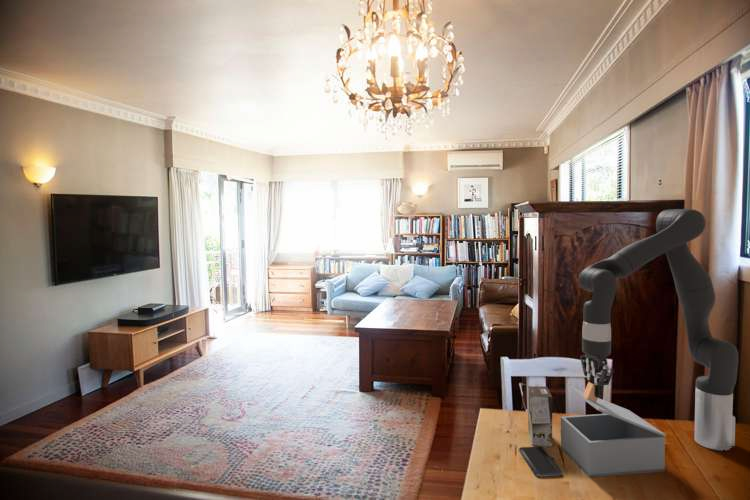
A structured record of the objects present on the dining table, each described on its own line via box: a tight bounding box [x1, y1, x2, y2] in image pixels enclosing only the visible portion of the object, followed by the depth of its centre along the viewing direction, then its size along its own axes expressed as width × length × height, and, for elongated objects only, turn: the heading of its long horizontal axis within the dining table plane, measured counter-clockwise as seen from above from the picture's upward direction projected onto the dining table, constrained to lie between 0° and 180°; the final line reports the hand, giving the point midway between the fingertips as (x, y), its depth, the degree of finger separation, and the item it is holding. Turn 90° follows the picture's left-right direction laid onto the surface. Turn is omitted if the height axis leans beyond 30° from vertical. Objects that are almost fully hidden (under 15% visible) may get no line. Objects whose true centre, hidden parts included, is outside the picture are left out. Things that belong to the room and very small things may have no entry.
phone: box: [518, 446, 563, 479], centre depth 132 cm, size 8×1×15 cm
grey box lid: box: [567, 381, 667, 438], centre depth 131 cm, size 22×16×5 cm
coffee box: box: [527, 385, 553, 447], centre depth 144 cm, size 9×6×16 cm
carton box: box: [560, 413, 666, 478], centre depth 132 cm, size 22×16×10 cm
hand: (595, 394), depth 130 cm, fingers closed on grey box lid, 2 cm apart
